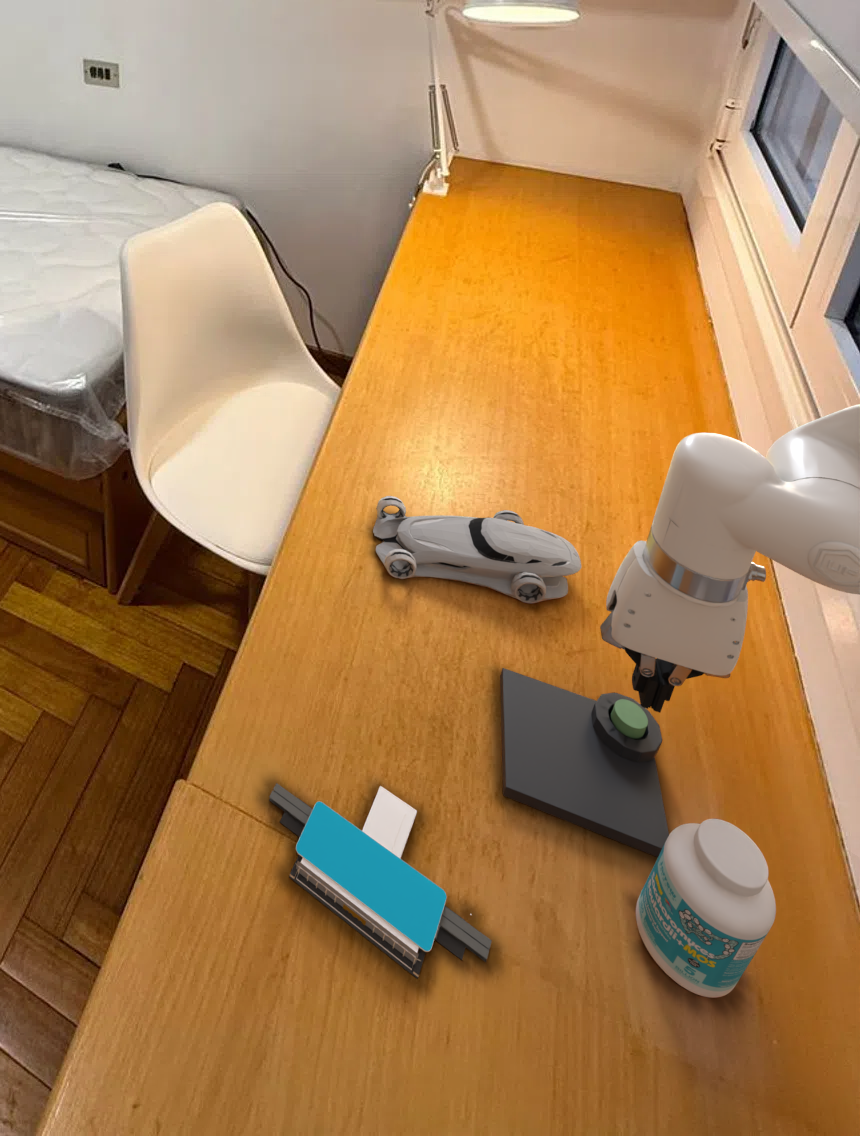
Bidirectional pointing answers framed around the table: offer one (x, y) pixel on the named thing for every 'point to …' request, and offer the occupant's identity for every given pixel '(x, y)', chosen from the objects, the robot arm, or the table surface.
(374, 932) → the blue paper trimmer
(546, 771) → the scale
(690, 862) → the pill bottle
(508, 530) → the car model
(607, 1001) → the table surface
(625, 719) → the button
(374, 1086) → the table surface
